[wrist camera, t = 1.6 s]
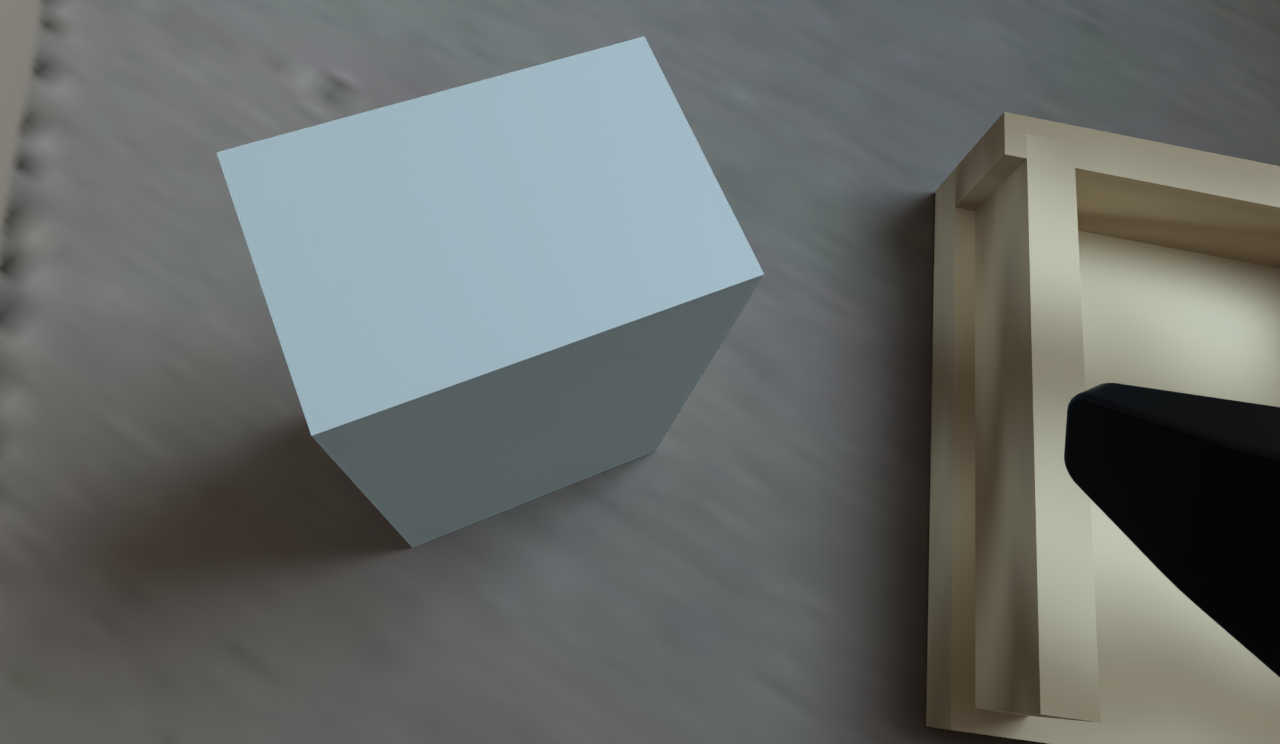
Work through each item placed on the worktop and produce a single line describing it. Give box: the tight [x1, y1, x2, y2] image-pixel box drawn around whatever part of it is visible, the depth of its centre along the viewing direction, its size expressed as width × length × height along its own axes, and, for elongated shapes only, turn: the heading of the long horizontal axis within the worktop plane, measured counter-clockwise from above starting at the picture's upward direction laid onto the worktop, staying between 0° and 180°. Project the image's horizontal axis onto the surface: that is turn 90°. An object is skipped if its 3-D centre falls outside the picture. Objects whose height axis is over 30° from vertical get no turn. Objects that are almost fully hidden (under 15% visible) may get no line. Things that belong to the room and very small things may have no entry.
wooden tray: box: [926, 112, 1280, 744], centre depth 20 cm, size 14×12×4 cm
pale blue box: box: [217, 37, 764, 548], centre depth 16 cm, size 4×6×10 cm, turn 113°
